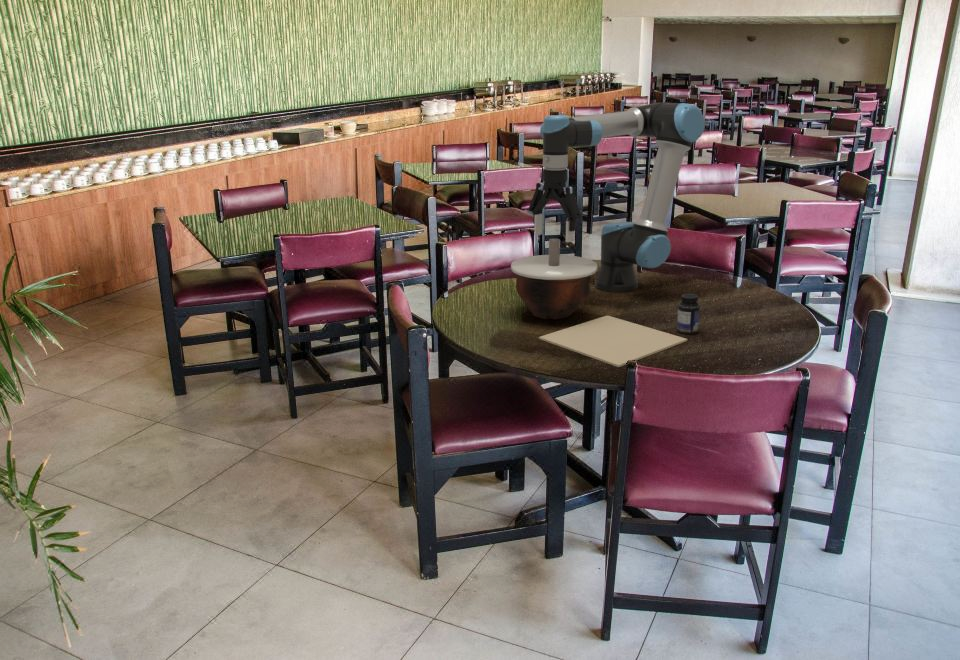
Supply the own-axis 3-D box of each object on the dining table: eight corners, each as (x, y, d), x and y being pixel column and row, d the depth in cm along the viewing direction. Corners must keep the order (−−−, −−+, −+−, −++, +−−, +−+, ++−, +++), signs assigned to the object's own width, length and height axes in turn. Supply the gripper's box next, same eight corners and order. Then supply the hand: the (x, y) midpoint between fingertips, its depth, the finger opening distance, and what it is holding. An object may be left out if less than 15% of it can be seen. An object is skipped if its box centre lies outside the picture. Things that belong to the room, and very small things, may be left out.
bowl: (607, 312, 245) (609, 266, 240) (560, 332, 228) (561, 283, 223) (546, 298, 261) (546, 255, 256) (498, 315, 244) (497, 269, 239)
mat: (538, 338, 223) (538, 337, 222) (607, 317, 241) (607, 315, 241) (618, 367, 201) (618, 365, 201) (687, 340, 219) (687, 338, 219)
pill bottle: (691, 327, 230) (694, 292, 227) (701, 333, 225) (704, 297, 221) (672, 329, 229) (675, 293, 225) (682, 335, 223) (684, 299, 220)
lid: (493, 268, 241) (493, 239, 238) (553, 254, 258) (553, 227, 255) (554, 284, 222) (555, 254, 219) (615, 268, 238) (616, 239, 235)
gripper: (517, 166, 237) (517, 233, 243) (577, 173, 218) (574, 246, 225) (535, 164, 241) (534, 230, 248) (594, 171, 223) (591, 242, 230)
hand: (553, 238), depth 237 cm, fingers open, 13 cm apart
